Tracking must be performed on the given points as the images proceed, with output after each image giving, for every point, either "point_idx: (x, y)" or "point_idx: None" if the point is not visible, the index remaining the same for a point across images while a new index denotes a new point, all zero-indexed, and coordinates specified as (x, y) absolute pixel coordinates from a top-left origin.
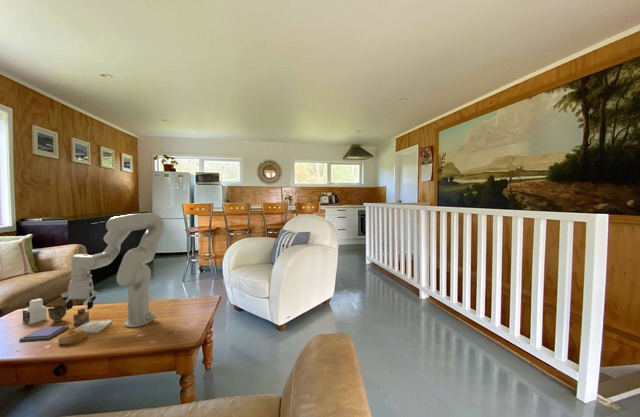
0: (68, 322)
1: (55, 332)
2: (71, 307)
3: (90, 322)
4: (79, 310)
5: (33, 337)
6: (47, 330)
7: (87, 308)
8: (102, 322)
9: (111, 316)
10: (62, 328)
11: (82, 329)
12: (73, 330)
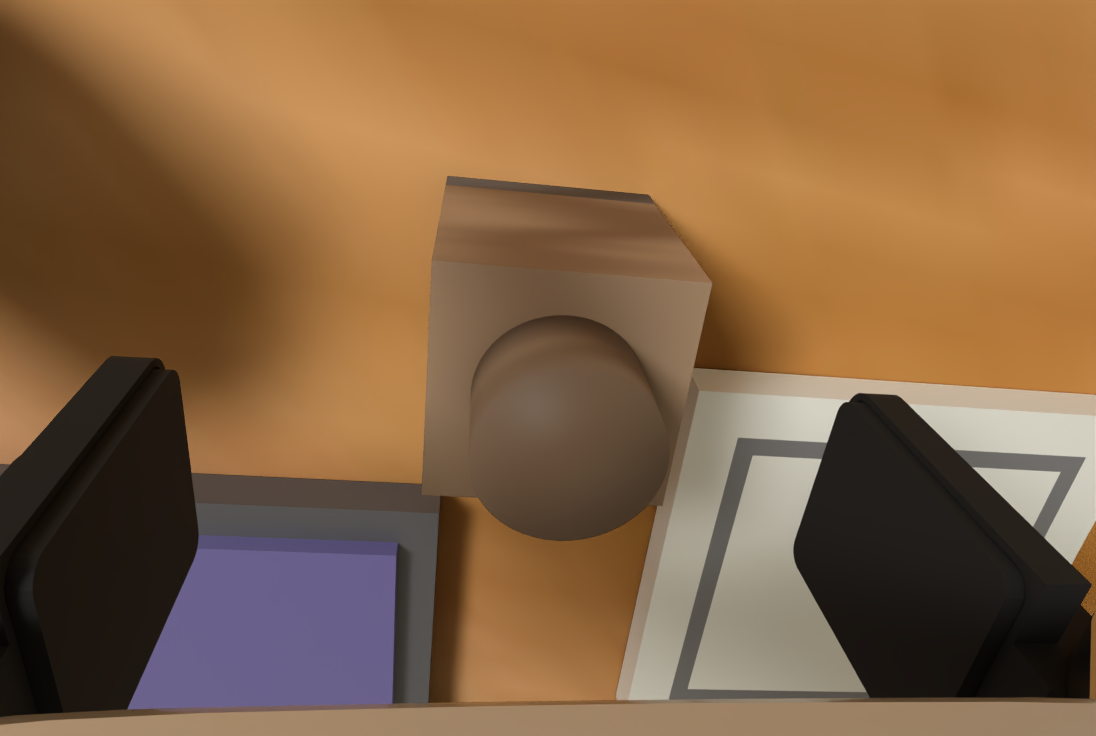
0: (202, 167)
1: (395, 701)
2: (170, 430)
3: (778, 433)
4: (562, 537)
5: None
6: (217, 668)
7: (808, 577)
8: (995, 476)
9: (1083, 2)
10: (398, 589)
11: (757, 671)
12: (636, 680)
